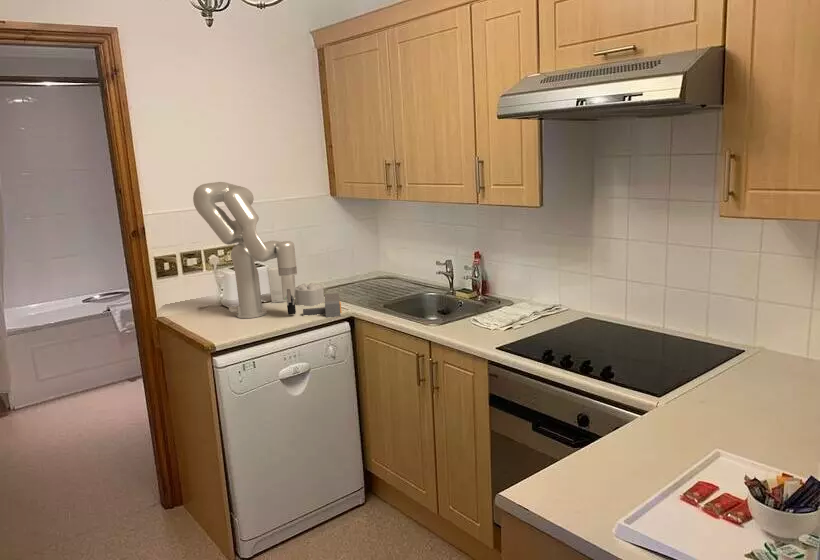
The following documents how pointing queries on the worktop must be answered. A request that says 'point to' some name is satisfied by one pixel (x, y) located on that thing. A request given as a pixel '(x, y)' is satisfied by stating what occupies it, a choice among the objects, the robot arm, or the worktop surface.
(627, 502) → the worktop surface
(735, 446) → the worktop surface
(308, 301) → the lumpy-topped squat cylinder
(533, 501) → the worktop surface
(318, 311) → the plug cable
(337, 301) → the block
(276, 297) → the skincare box
